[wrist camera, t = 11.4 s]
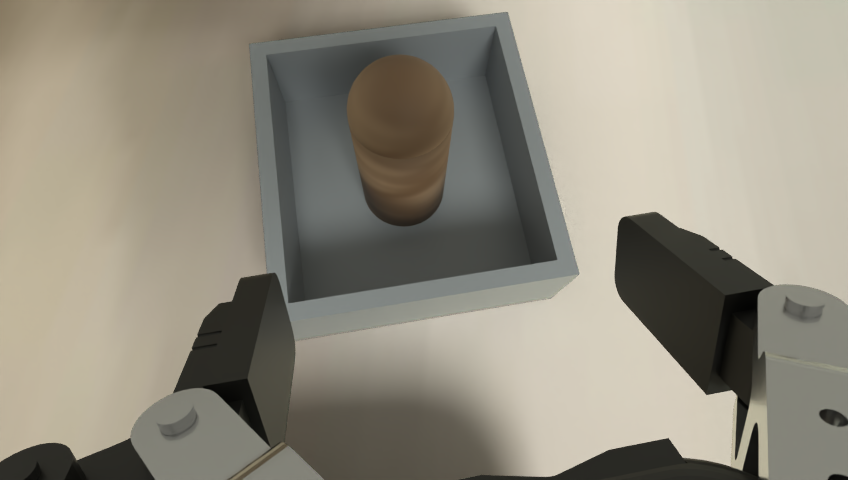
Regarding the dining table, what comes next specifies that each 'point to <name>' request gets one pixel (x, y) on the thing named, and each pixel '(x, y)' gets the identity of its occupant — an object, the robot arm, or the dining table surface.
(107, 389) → the dining table surface
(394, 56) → the pepper mill
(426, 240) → the bin
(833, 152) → the dining table surface
